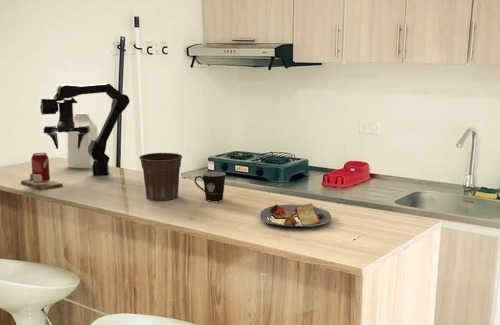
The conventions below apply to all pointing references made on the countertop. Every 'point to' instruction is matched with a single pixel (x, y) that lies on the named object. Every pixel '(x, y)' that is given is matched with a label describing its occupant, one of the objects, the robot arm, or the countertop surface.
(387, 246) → the countertop surface
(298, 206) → the food plate
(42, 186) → the carrier board
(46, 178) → the soda can
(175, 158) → the plant pot
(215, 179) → the coffee mug
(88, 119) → the milk
